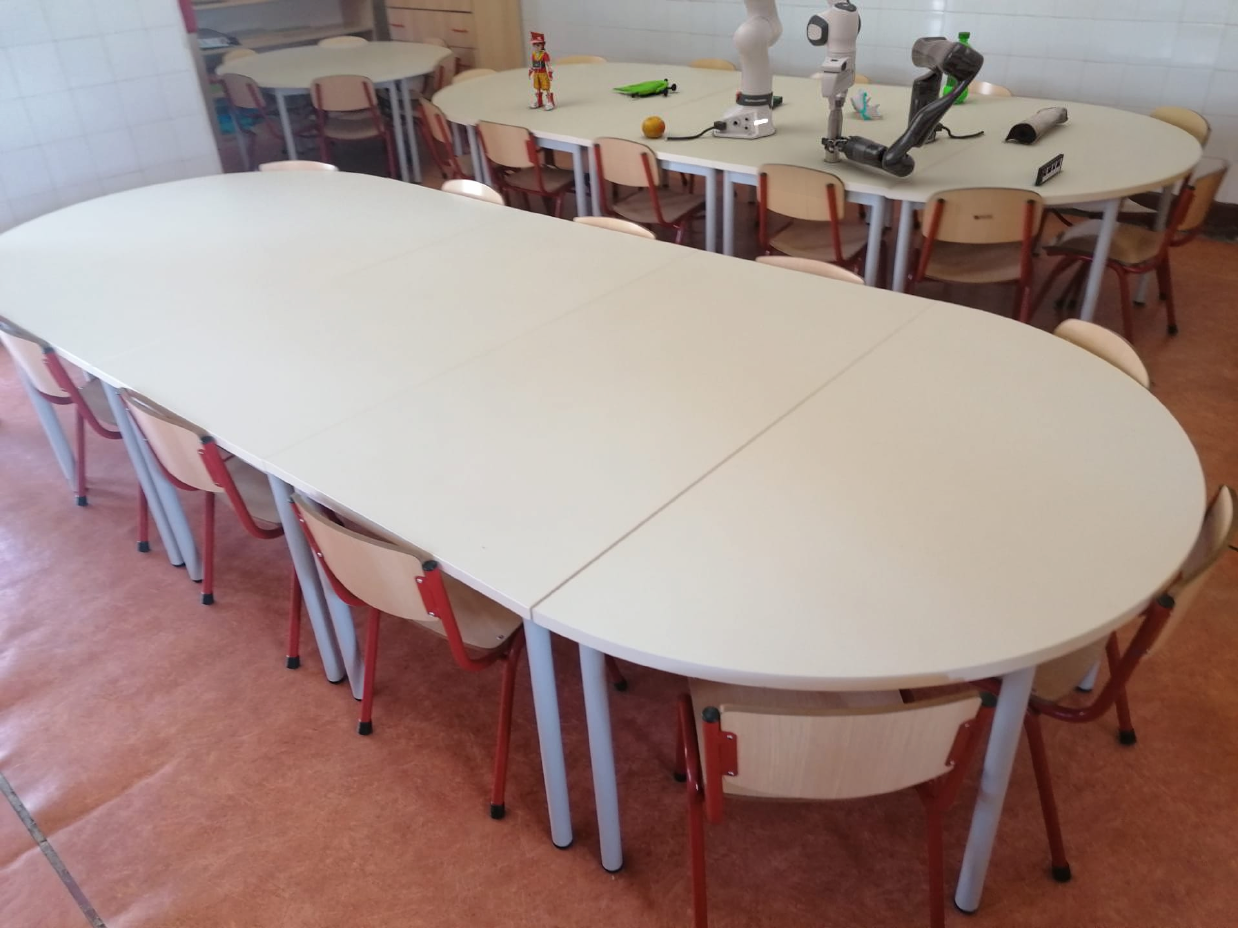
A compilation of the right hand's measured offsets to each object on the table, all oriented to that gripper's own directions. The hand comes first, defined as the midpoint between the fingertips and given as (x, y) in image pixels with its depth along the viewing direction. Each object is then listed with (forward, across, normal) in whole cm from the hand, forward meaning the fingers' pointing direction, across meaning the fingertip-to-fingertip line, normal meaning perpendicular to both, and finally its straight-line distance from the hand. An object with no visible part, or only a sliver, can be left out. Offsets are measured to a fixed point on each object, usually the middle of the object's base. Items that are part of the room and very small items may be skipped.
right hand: (828, 139), depth 299 cm
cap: (-3, 0, -13) cm, 13 cm away
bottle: (-3, 0, +6) cm, 7 cm away
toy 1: (+131, +47, +6) cm, 140 cm away
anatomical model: (+35, -46, +6) cm, 58 cm away
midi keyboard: (-57, -39, +6) cm, 70 cm away
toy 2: (+128, +1, +6) cm, 128 cm away
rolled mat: (-22, -75, +6) cm, 78 cm away
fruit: (+61, +33, +6) cm, 69 cm away
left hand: (-3, 0, -11) cm, 11 cm away
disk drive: (+71, -25, +6) cm, 76 cm away
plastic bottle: (+29, -86, +6) cm, 91 cm away
